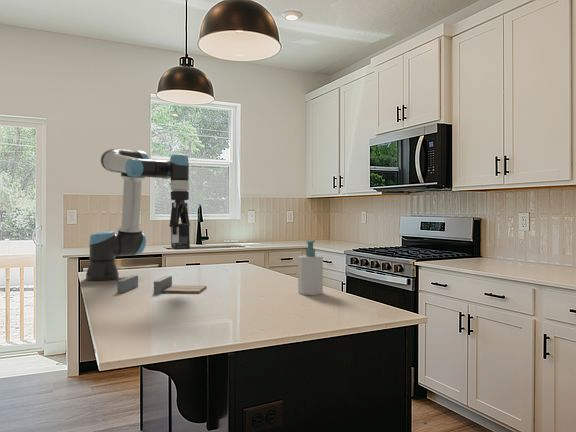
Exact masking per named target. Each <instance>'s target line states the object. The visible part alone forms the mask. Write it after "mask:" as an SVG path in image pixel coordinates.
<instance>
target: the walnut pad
mask: <svg viewBox="0 0 576 432" xmlns="http://www.w3.org/2000/svg"><path fill="white" fill-rule="evenodd" d="M206 289H207V285H176V284H175V285H173V284H172V286H171V287H169V288H167V289H165V290H164V291H163V292H162V293H163V294H193V295H194V294H200V293H202V292H203V291H204V290H206Z"/></svg>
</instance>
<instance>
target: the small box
mask: <svg viewBox="0 0 576 432" xmlns="http://www.w3.org/2000/svg"><path fill="white" fill-rule="evenodd" d="M178 227H179V243H172V227H170V240H171V241H170V243H171V244H170V245H171V246H170V247H171V248H172V249H174V250H190V249H191V245H190V244H191V242H190V226H189V224H185V223H183V224H182V223H178Z"/></svg>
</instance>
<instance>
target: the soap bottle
mask: <svg viewBox="0 0 576 432" xmlns="http://www.w3.org/2000/svg"><path fill="white" fill-rule="evenodd" d="M305 242H306V243H307V248H305V255H299V256H298V257H297V258H298V259H297V261H298V263H297V266H298V268H297V271H298V272H297V278H298V280H297V286H298V287H297V292H298V293H299V294H301V295H302V296H317V295H322V294H323V293H324V292H323V291H324V290H323V289H324V286H323V285H324V283H323V282H324V281H323V279H324V278H323V277H324V275H323V274H324V271H323V270H324V267H323V266H324V265H323V264H324V258H323V256H321V255H318V254H317V255H316V249H315V248H314V243H316V241H315V240H311V239H308V240H306V241H305Z"/></svg>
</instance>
